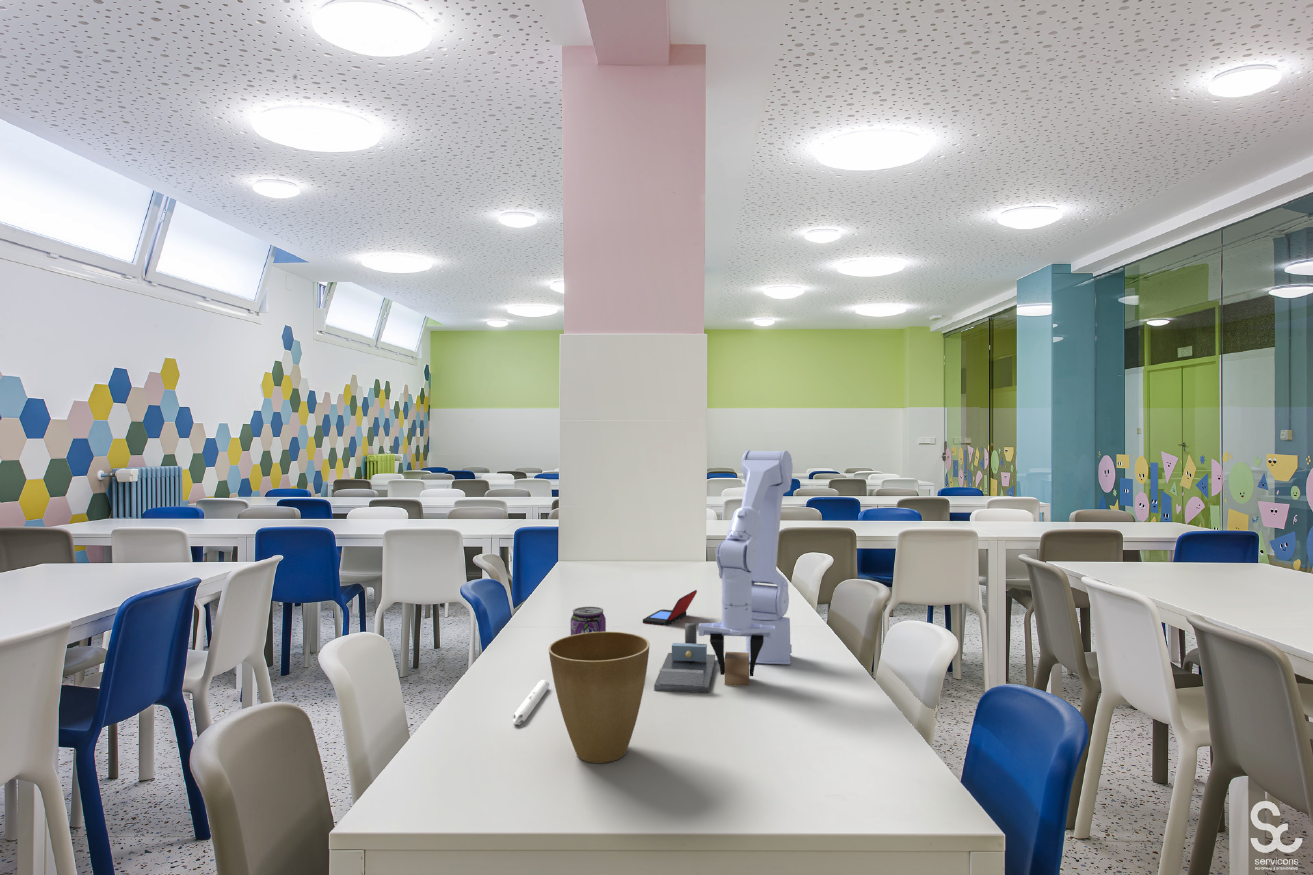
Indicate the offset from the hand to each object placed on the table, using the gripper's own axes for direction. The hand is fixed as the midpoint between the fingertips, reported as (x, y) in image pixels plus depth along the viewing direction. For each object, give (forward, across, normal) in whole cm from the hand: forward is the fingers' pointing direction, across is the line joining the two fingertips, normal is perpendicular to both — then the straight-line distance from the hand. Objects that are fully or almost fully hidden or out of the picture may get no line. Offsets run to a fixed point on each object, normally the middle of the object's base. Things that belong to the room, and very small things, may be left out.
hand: (737, 673), depth 135 cm
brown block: (+2, 0, 0) cm, 2 cm away
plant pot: (+2, -19, -34) cm, 39 cm away
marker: (+2, -35, -18) cm, 39 cm away
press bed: (+1, -10, +3) cm, 11 cm away
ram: (0, -10, +9) cm, 14 cm away
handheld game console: (+2, -19, +45) cm, 49 cm away
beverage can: (+2, -30, +3) cm, 30 cm away
